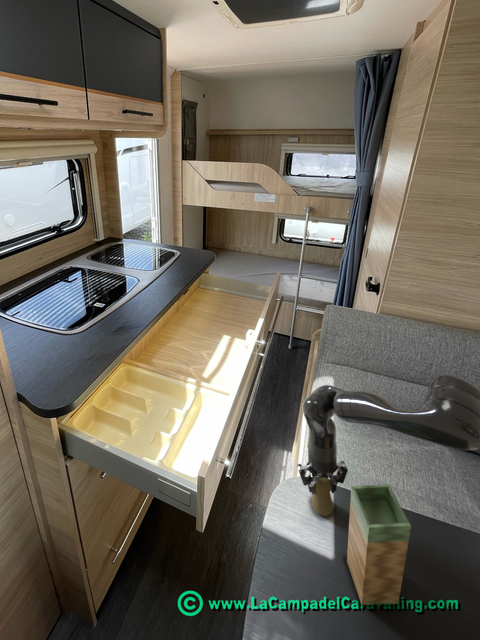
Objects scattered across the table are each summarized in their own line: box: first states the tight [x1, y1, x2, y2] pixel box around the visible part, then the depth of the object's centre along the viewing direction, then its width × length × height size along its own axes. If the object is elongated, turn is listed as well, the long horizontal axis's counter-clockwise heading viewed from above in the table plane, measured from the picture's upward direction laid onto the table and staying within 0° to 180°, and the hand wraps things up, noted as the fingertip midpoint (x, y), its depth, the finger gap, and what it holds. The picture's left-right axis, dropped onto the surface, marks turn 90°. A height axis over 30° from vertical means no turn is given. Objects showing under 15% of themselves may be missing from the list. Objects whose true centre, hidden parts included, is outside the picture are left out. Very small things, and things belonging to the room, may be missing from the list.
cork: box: [311, 478, 334, 517], centre depth 97 cm, size 6×6×11 cm
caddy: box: [346, 483, 412, 606], centre depth 77 cm, size 9×9×30 cm
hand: (322, 490), depth 96 cm, fingers closed on cork, 5 cm apart
